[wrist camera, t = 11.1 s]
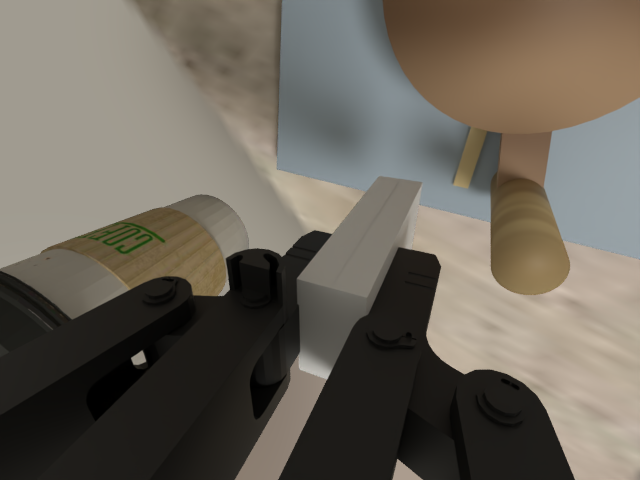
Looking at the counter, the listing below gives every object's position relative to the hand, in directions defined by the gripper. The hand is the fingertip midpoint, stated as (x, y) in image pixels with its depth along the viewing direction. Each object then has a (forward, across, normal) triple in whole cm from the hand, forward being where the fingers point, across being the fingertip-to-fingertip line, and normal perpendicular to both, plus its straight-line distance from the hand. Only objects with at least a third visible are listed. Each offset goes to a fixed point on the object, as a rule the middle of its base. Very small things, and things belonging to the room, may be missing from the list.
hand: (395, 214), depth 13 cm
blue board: (+8, +3, +8) cm, 11 cm away
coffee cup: (+8, -15, -8) cm, 18 cm away
